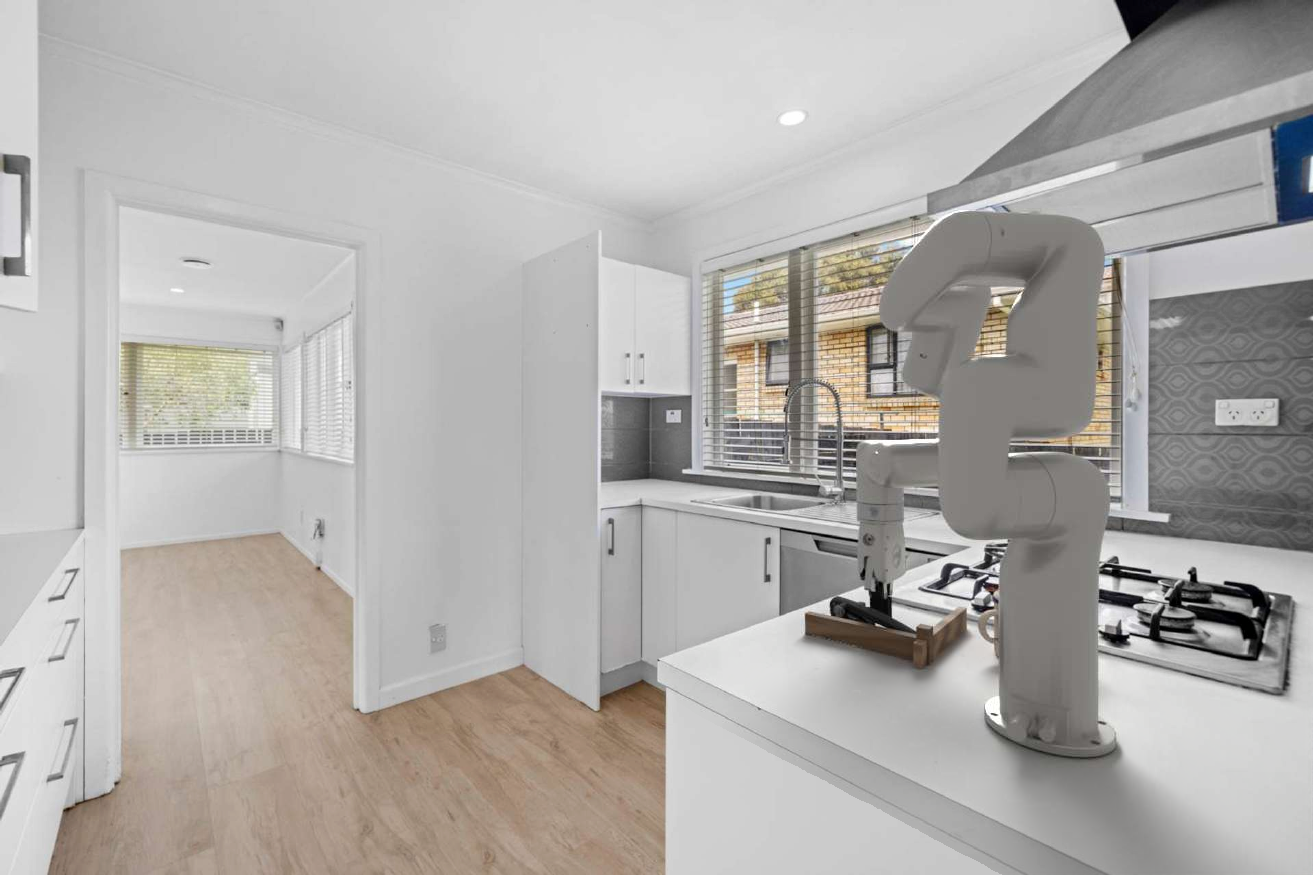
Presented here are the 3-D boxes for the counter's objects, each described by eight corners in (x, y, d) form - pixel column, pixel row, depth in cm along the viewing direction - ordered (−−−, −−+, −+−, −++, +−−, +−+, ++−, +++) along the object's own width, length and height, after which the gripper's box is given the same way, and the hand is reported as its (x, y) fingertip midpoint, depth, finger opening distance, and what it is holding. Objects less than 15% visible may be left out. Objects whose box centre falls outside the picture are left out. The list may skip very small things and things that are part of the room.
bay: (924, 669, 85) (924, 633, 85) (798, 637, 99) (798, 606, 99) (968, 628, 102) (968, 598, 101) (855, 606, 115) (855, 579, 115)
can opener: (819, 626, 105) (818, 594, 104) (849, 620, 108) (849, 589, 107) (900, 662, 89) (900, 624, 88) (933, 653, 92) (933, 617, 92)
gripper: (884, 520, 94) (885, 636, 95) (918, 509, 105) (918, 613, 106) (839, 516, 99) (840, 626, 100) (875, 505, 110) (876, 605, 111)
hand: (880, 619), depth 103 cm, fingers closed
